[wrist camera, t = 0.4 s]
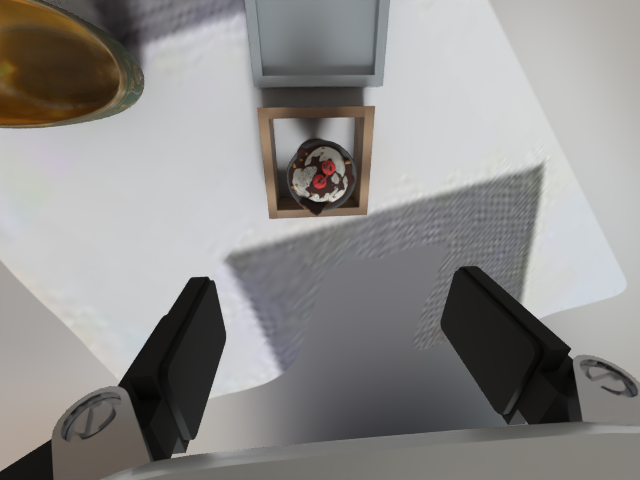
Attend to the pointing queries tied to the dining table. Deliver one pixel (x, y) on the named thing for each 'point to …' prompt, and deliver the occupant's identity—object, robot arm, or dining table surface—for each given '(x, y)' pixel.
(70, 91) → the green bowl
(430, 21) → the dining table surface
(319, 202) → the sundae
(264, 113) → the holder
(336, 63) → the tray
